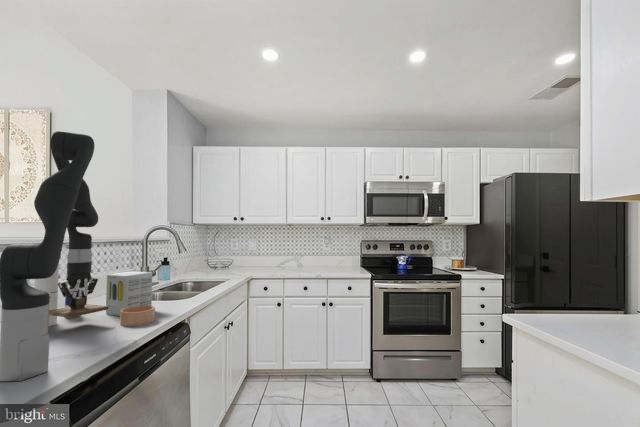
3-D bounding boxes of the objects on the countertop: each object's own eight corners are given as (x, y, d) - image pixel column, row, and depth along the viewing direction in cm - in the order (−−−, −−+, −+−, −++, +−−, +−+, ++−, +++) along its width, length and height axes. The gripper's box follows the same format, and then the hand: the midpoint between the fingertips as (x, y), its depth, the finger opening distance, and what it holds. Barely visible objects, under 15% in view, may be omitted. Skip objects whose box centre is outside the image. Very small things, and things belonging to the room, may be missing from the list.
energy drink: (71, 318, 138) (72, 289, 138) (61, 317, 139) (62, 289, 139) (83, 315, 143) (84, 287, 144) (73, 314, 144) (74, 286, 145)
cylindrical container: (61, 323, 131) (63, 259, 132) (41, 328, 124) (44, 261, 125) (47, 321, 133) (50, 259, 134) (28, 326, 126) (30, 260, 127)
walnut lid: (108, 309, 129) (108, 295, 129) (70, 317, 116) (70, 302, 116) (83, 306, 134) (84, 293, 134) (44, 314, 121) (45, 300, 121)
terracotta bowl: (160, 319, 136) (161, 307, 137) (135, 327, 125) (135, 313, 125) (139, 316, 141) (139, 304, 141) (112, 324, 129) (113, 311, 130)
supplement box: (104, 314, 145) (105, 274, 146) (132, 307, 157) (133, 270, 158) (125, 317, 140) (126, 275, 140) (152, 310, 152) (153, 272, 153)
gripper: (66, 262, 118) (64, 311, 117) (104, 259, 131) (102, 304, 130) (52, 262, 121) (50, 310, 120) (91, 259, 134) (89, 302, 133)
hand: (77, 306), depth 125 cm, fingers closed on walnut lid, 3 cm apart
